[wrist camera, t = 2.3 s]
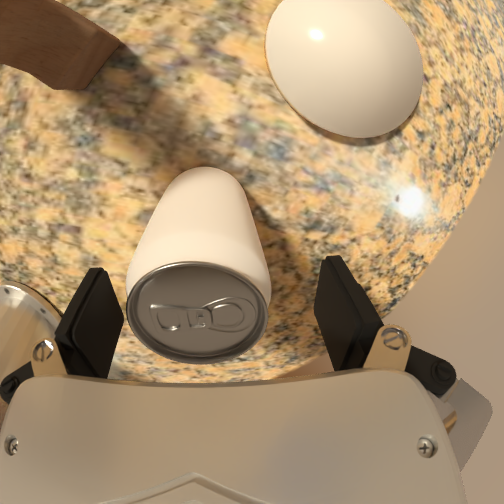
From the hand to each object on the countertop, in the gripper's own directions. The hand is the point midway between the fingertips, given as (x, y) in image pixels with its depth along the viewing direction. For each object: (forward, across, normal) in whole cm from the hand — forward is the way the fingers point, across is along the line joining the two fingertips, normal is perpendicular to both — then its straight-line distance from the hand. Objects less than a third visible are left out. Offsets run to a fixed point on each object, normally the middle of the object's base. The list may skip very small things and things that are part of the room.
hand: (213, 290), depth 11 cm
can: (+11, +1, 0) cm, 11 cm away
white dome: (+11, -10, -12) cm, 19 cm away
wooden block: (+11, +11, -14) cm, 21 cm away
